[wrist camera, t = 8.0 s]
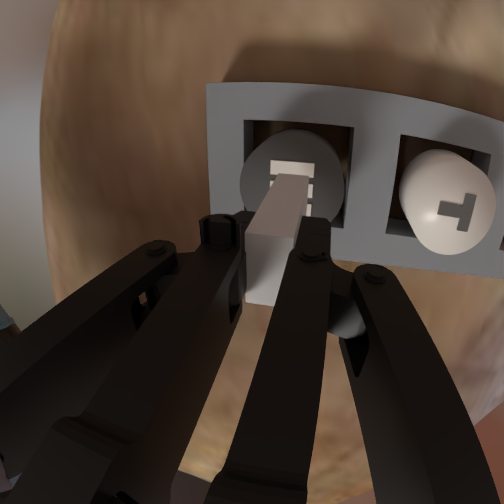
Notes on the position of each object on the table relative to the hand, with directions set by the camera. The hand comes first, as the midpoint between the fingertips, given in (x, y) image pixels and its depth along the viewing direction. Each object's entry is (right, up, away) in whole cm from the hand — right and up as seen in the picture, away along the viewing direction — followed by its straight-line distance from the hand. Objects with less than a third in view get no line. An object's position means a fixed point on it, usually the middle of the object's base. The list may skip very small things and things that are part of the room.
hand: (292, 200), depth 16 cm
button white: (+11, +2, +3) cm, 11 cm away
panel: (+11, +3, +5) cm, 13 cm away
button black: (+1, +3, +5) cm, 6 cm away
